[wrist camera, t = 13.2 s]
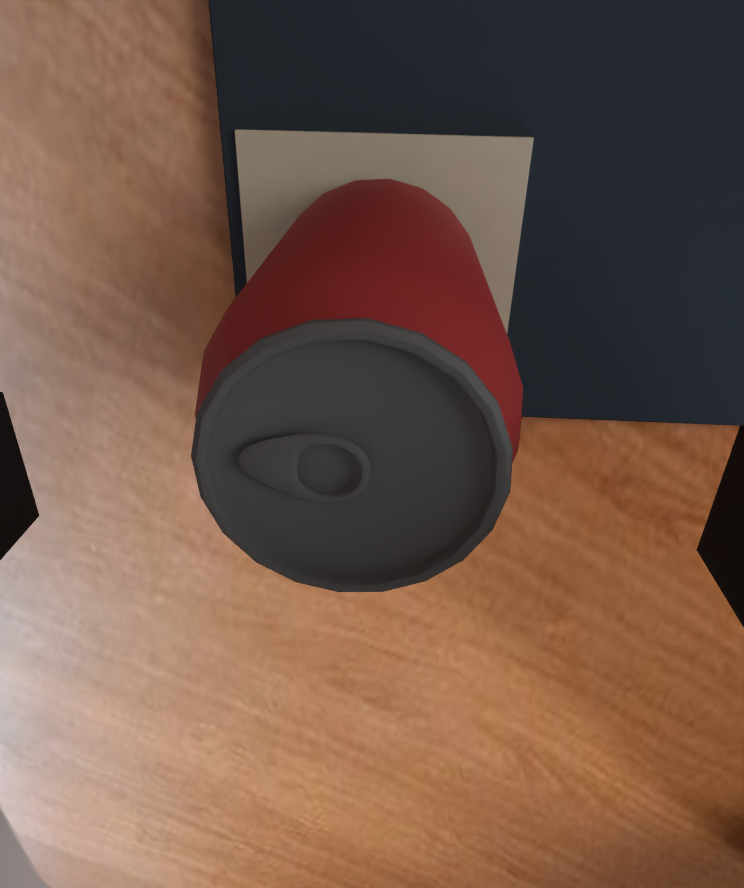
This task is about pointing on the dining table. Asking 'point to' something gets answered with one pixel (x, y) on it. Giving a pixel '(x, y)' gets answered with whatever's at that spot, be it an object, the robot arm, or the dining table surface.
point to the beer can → (360, 397)
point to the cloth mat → (523, 171)
